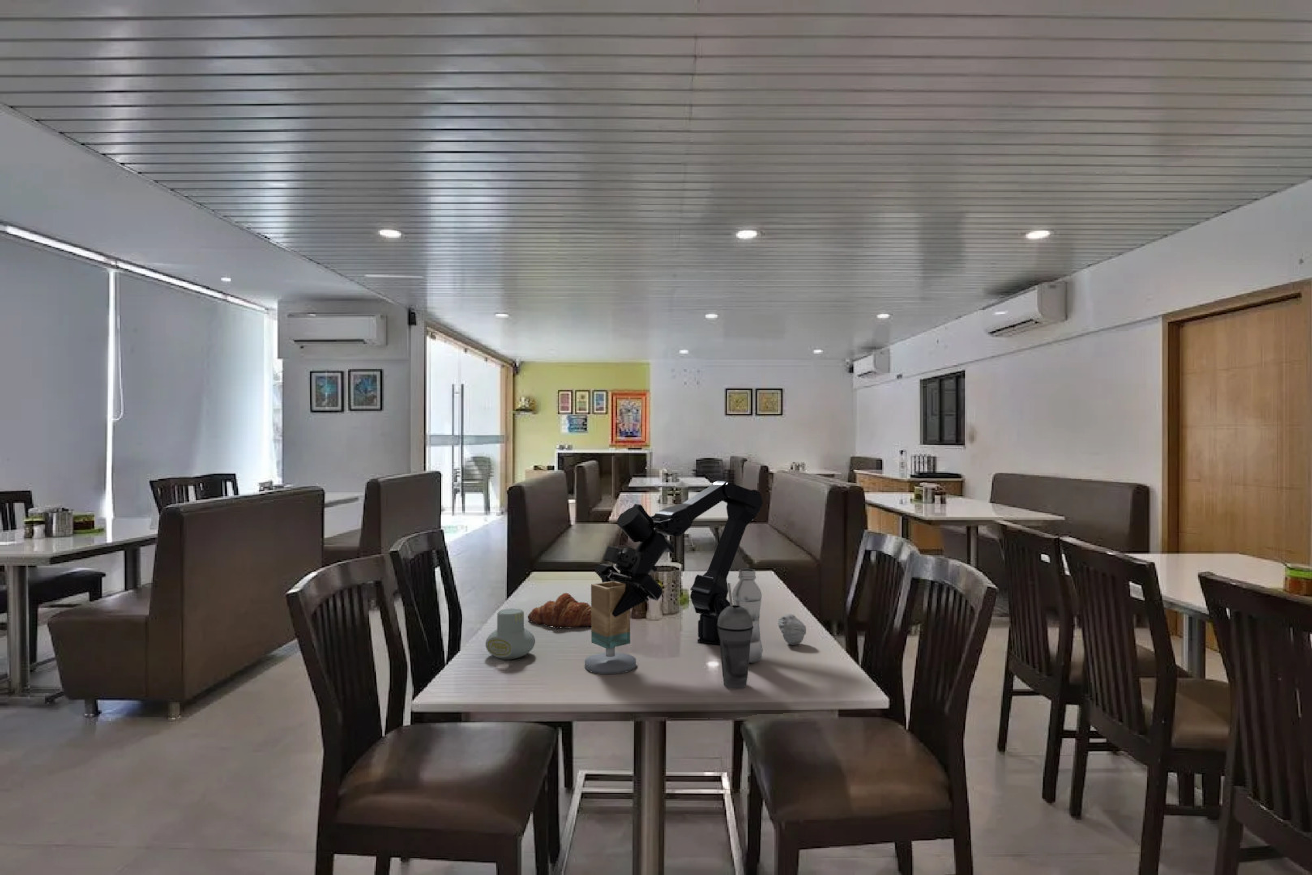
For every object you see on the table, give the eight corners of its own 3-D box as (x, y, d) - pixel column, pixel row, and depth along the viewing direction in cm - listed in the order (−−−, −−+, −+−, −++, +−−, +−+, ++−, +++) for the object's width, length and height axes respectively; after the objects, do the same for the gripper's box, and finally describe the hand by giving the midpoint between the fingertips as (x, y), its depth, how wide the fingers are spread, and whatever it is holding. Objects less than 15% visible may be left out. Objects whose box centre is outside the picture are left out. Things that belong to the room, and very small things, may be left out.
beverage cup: (752, 692, 128) (752, 587, 129) (714, 689, 130) (714, 586, 130) (754, 679, 135) (754, 580, 136) (718, 677, 137) (718, 579, 137)
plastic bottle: (744, 668, 143) (743, 573, 143) (726, 659, 149) (726, 568, 149) (768, 663, 146) (768, 571, 146) (750, 655, 152) (750, 566, 152)
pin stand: (644, 661, 147) (644, 637, 147) (621, 677, 137) (621, 651, 137) (600, 655, 151) (600, 632, 152) (575, 669, 141) (575, 645, 142)
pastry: (584, 613, 191) (584, 585, 191) (607, 626, 177) (607, 595, 177) (526, 621, 182) (526, 591, 182) (546, 635, 169) (546, 603, 169)
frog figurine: (787, 638, 165) (787, 610, 165) (812, 644, 160) (812, 615, 160) (772, 643, 160) (772, 614, 160) (797, 650, 155) (797, 619, 155)
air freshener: (541, 653, 153) (541, 609, 153) (519, 664, 145) (519, 617, 146) (502, 647, 157) (502, 605, 158) (479, 657, 150) (479, 612, 150)
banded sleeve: (614, 637, 149) (613, 580, 149) (630, 643, 144) (629, 585, 144) (591, 642, 145) (591, 584, 145) (606, 648, 140) (606, 588, 140)
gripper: (601, 528, 154) (560, 582, 148) (651, 536, 140) (607, 597, 133) (629, 559, 159) (590, 612, 152) (680, 570, 144) (639, 630, 138)
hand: (605, 612), depth 144 cm, fingers closed on banded sleeve, 6 cm apart
